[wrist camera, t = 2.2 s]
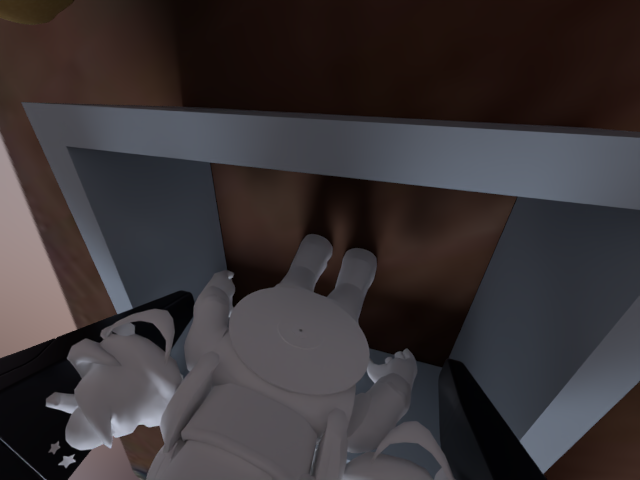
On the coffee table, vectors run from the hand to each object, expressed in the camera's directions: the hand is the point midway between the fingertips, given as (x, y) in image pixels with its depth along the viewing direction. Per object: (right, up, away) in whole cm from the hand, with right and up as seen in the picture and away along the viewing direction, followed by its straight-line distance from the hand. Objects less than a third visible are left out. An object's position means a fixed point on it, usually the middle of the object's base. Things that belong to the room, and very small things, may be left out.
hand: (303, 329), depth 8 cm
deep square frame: (+1, +2, +4) cm, 5 cm away
